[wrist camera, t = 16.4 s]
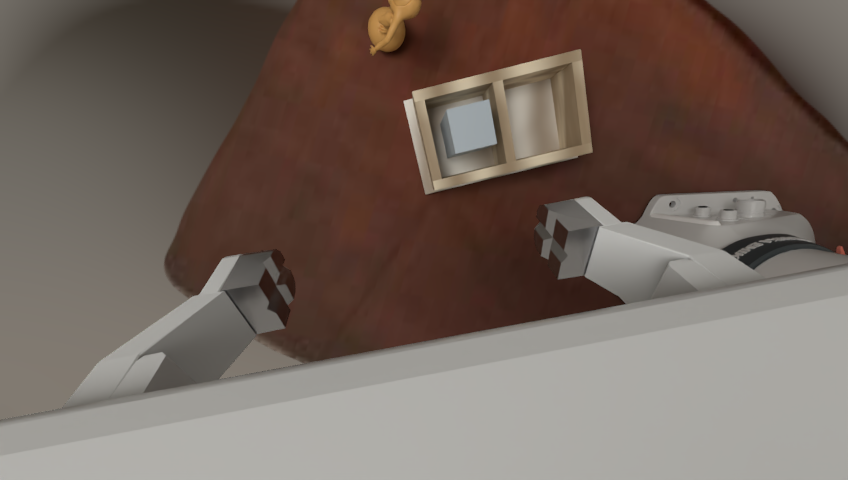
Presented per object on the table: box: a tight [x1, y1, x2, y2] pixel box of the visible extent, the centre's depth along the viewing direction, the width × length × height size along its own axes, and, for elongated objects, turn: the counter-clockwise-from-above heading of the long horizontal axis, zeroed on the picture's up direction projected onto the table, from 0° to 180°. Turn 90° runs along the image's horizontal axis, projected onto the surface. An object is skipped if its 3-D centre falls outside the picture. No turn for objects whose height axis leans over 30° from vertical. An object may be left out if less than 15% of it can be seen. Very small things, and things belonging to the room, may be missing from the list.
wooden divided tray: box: [404, 49, 593, 194], centre depth 34 cm, size 19×11×6 cm, turn 103°
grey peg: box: [440, 99, 497, 159], centre depth 32 cm, size 4×4×8 cm
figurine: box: [368, 0, 421, 56], centre depth 29 cm, size 8×6×12 cm
